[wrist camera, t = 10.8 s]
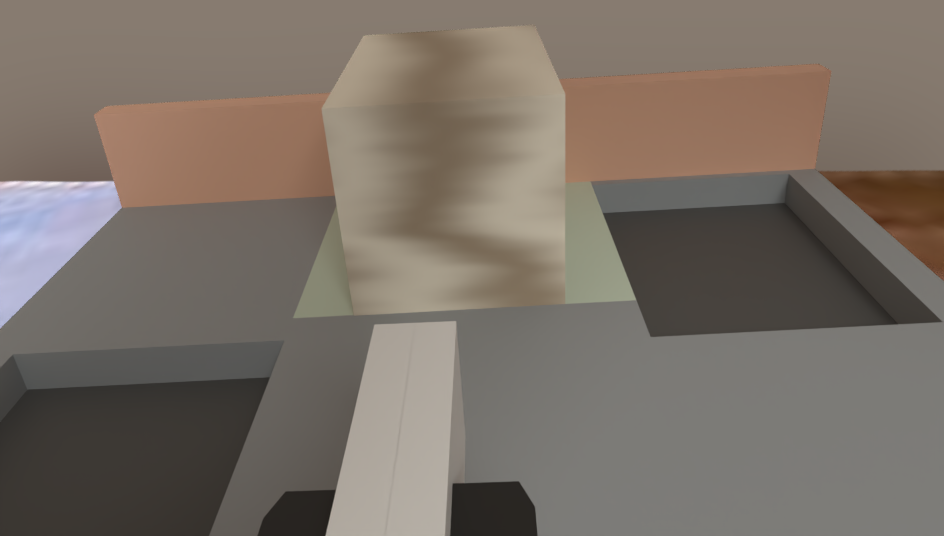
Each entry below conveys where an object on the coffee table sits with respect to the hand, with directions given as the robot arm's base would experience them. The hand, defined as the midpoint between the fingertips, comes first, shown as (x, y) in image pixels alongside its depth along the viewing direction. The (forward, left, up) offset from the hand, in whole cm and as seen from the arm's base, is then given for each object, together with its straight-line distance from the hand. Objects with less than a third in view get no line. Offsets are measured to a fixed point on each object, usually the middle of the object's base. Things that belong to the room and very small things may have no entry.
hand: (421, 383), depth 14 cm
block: (0, -19, -6) cm, 20 cm away
